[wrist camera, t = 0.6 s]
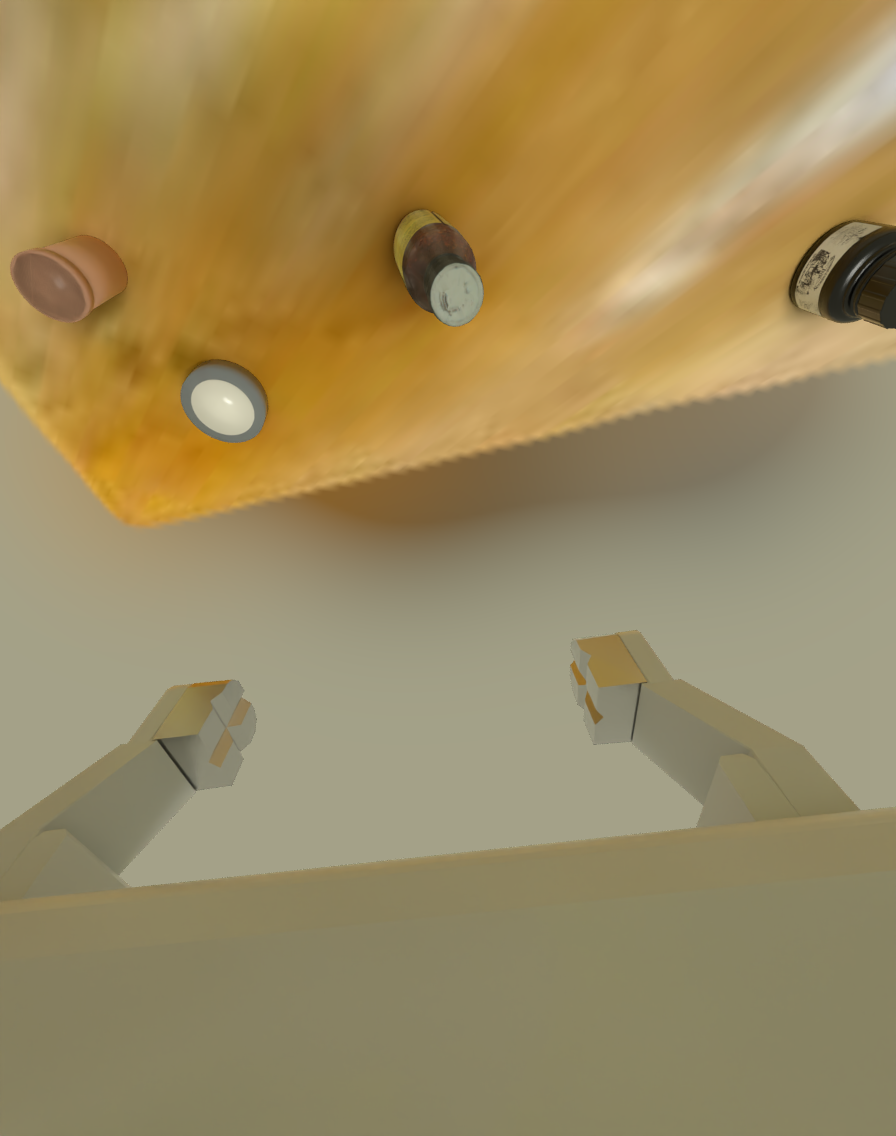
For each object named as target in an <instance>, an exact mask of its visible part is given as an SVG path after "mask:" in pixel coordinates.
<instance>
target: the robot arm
mask: <svg viewBox="0 0 896 1136" xmlns="http://www.w3.org/2000/svg"><path fill="white" fill-rule="evenodd" d="M571 653H572V655H573V658H574V662H573V663H572V664H571V665H570V677H571V684H572V689H573V693H574V696H575V699H576V702H577V704H578V705H579V706H580V707H582V708H583V709H584V722H585V725H586V727H587V730H588V732H589V735H590V737H591V739H592V742H593V744H594V745H597V744H608V743H621V742H632V744H633V745H634V746H635V747H636V748H638V749H639V750H640V751H641V752H642V753H643V754H645V755H646V756H647V757H648V758H649V759H650V760H651V761H653V762H654V763H655V764H656V765H657V766H658V767H659V768H661V769H662V770H663V771H664V772H665V773H666V774H668V775H669V776H670V777H671V778H672V779H673V780H674V781H676V782H677V783H678V784H679V785H680V786H682V787H683V788H684V789H685V790H686V791H687V792H688V793H690V794H691V795H692V796H693V797H694V798H695V799H696V800H698V801H699V802H700V803H701V804H702V805H703V809H702V812H701V815H700V818H699V821H698V823H697V826H696V828H689V829H679V830H670V831H661V832H652V833H642V834H632V835H623V836H614V837H604V838H595V839H585V840H576V841H566V842H557V843H547V844H538V845H529V846H519V847H509V848H500V849H490V850H481V851H472V852H462V853H453V854H443V855H434V856H424V857H415V858H405V859H396V860H387V861H377V862H368V863H359V864H349V865H340V866H331V867H321V868H312V869H303V870H294V871H284V872H275V873H265V874H256V875H246V876H237V877H227V878H218V879H209V880H199V881H190V882H180V883H170V884H161V885H151V886H142V887H131V886H129V885H128V884H127V883H126V882H125V881H124V880H123V879H121V878H120V877H119V876H118V875H119V874H120V873H121V872H122V871H123V870H124V869H125V868H126V867H127V866H128V865H129V864H130V863H131V861H132V860H133V859H134V858H135V857H136V856H137V855H138V854H139V853H140V852H141V851H142V850H143V849H144V848H145V847H146V845H148V843H149V842H150V841H151V840H152V839H153V838H154V837H155V836H156V835H157V834H158V832H160V831H161V829H163V827H164V826H165V825H166V824H167V823H168V822H169V821H170V820H171V819H172V817H174V816H175V815H176V814H177V813H178V811H179V810H180V809H181V808H182V807H183V806H184V805H185V804H186V803H187V802H188V800H190V798H192V797H193V795H194V794H195V793H196V791H197V790H204V789H210V788H218V787H225V786H232V785H233V782H234V780H235V778H236V775H237V773H238V771H239V768H240V766H241V764H242V761H243V756H242V753H241V751H242V750H243V749H244V748H245V747H246V746H247V745H248V744H249V743H250V742H251V741H252V738H253V736H254V733H255V729H256V720H257V719H256V714H255V710H254V708H253V706H252V704H251V703H250V702H248V701H247V700H245V699H243V698H242V695H243V693H244V689H243V687H242V686H241V684H240V682H239V681H236V680H225V681H214V682H204V683H194V684H188V685H177V686H173V687H171V688H169V689H167V691H166V692H165V693H164V695H163V696H162V697H161V699H160V700H159V701H158V703H157V704H156V706H155V707H154V708H153V710H152V711H151V712H150V713H149V715H148V716H147V718H146V719H145V720H144V722H143V723H142V725H141V726H140V727H139V729H138V730H137V731H136V733H135V734H134V735H133V737H132V738H131V739H130V741H129V742H128V743H127V744H122V745H120V746H118V747H116V748H115V749H114V750H112V751H111V752H109V753H108V754H107V755H105V756H104V757H102V758H101V759H100V760H98V761H97V762H95V763H94V764H92V765H91V766H90V767H88V768H87V769H85V770H84V771H83V772H81V773H80V774H78V775H77V776H75V777H74V778H73V779H71V780H70V781H68V782H67V783H66V784H64V785H63V786H62V787H60V788H58V789H57V790H56V791H54V792H53V793H51V794H50V795H49V796H47V797H46V798H44V799H43V800H41V801H40V802H39V803H37V804H36V805H34V806H33V807H32V808H30V809H29V810H27V811H26V812H24V813H23V814H22V815H20V816H19V817H17V818H16V819H15V820H13V821H12V822H10V823H9V824H7V825H6V826H5V827H3V828H2V829H1V830H0V1136H896V807H888V808H878V809H869V810H860V809H859V808H858V807H857V806H856V805H855V804H854V802H853V801H852V800H851V799H850V798H849V797H848V796H847V795H846V794H845V792H844V791H843V790H842V789H841V788H840V787H839V786H838V784H836V782H835V781H834V780H833V779H832V778H831V777H830V776H829V774H828V773H827V772H826V771H825V770H824V769H823V768H822V766H821V765H820V764H819V763H818V762H817V761H816V760H815V759H814V758H813V756H812V755H811V754H810V753H809V752H808V751H807V750H806V749H805V747H804V746H803V745H801V744H799V743H797V742H795V741H794V740H792V739H790V738H788V737H786V736H784V735H782V734H781V733H779V732H777V731H775V730H773V729H771V728H769V727H768V726H766V725H764V724H762V723H760V722H758V721H757V720H755V719H753V718H751V717H749V716H748V715H746V714H744V713H742V712H740V711H738V710H736V709H734V708H733V707H731V706H729V705H727V704H725V703H724V702H722V701H720V700H718V699H716V698H714V697H712V696H711V695H709V694H707V693H705V692H703V691H701V690H700V689H698V688H696V687H694V686H692V685H690V684H688V683H687V682H685V681H683V680H681V679H678V680H674V679H673V678H672V676H671V675H670V674H669V672H668V671H667V669H666V668H665V667H664V665H663V664H662V662H661V661H660V659H659V658H658V657H657V655H656V654H655V652H654V651H653V649H652V648H651V647H650V645H649V644H648V642H647V641H646V640H645V638H644V637H643V635H642V634H641V632H639V631H637V630H633V631H626V632H618V633H615V634H605V635H598V636H589V637H582V638H574V639H572V642H571Z"/></svg>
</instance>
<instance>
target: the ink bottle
mask: <svg viewBox="0 0 896 1136" xmlns="http://www.w3.org/2000/svg"><path fill="white" fill-rule="evenodd" d="M791 298H792V301H793V303H794V304H795V305H796V306H797V307H799V308H800V309H803V310H805V311H808V312H810V313H813V314H816V315H818V316H821V317H823V318H826V319H828V320H831V321H834V322H837V323H851V322H855V321H858V320H861V319H864V321H867V322H870V323H872V324H875V325H878V326H881V327H883V328H886V329H888V328H895V329H896V226H892V225H886V224H880V223H874V222H868V221H861V220H857V221H850V222H847V223H844V224H841V225H839V226H837V227H835V228H834V229H832V230H831V231H829V232H828V233H826V234H825V235H824V236H823V237H822V238H821V239H820V240H819V241H818V242H817V243H816V244H815V245H814V246H813V247H812V248H811V249H810V251H809V252H808V253H807V255H806V256H805V258H804V259H803V261H802V262H801V264H800V266H799V267H798V269H797V271H796V274H795V276H794V278H793V282H792V285H791Z"/></svg>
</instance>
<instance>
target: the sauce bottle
mask: <svg viewBox="0 0 896 1136" xmlns="http://www.w3.org/2000/svg"><path fill="white" fill-rule="evenodd" d="M394 256H395V260H396V263H397V266H398V269H399V271H400V273H401V276H402V279H403V281H404V283H405V286H406V288H407V290H408V292H409V294H410V295H411V297H412V299H413V300H414V301H415V302H416V303H417V304H418V305H419V306H420V307H421V308H423V309H424V310H426V311H428V312H431V313H434V315H435V316H436V317H437V318H438V319H439V320H440V321H441V322H443V323H444V324H446V325H448V326H453V327H454V326H461V325H464V324H466V323H469V322H470V321H471V320H472V319H473V318H474V317H475V316H476V314H477V313H478V312H479V309H480V307H481V305H482V302H483V295H484V292H483V284H482V280H481V278H480V276H479V274H478V273H477V271H476V262H475V257H474V254H473V252H472V249H471V248H470V246H469V244H468V243H467V241H466V240H465V239H464V238H463V236H462V235H461V234H460V233H459V232H458V231H457V230H456V229H455V228H454V227H453V226H452V225H450V224H449V223H448V222H447V221H446V220H444V219H443V218H442V217H441V216H439V215H438V214H437V213H435V212H433V211H432V212H430V211H429V210H417V211H414V212H412V213H410V214H408V215H407V216H405V217H404V218H403V219H402V220H401V222H400V224H399V226H398V229H397V231H396V234H395V238H394Z"/></svg>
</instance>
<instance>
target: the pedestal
mask: <svg viewBox="0 0 896 1136" xmlns="http://www.w3.org/2000/svg"><path fill="white" fill-rule="evenodd" d="M181 402H182V406H183V409H184V411H185V413H186V415H187V416H188V418H189V419H190V420H191V421H192V423H193V424H194V425H195V426H196V427H197V428H199V429H200V430H201V431H202V432H204V433H205V434H207V435H209V436H211V437H213V438H215V439H218V440H221V441H225V442H231V443H238V442H244V441H247V440H250V439H252V438H253V437H255V436H256V435H257V434H258V433H259V432H260V430H261V429H262V426H263V424H264V421H265V418H266V415H267V412H268V399H267V396H266V393H265V391H264V389H263V387H262V385H261V384H260V382H259V381H258V380H257V379H256V378H255V377H254V376H253V375H252V374H251V373H250V372H249V371H248V370H246V369H245V368H243V367H241V366H239V365H238V364H235V363H233V362H229V361H225V360H209V361H205V362H203V363H201V364H199V365H197V366H196V367H195V368H194V370H193V371H192V372H191V373H190V375H189V376H188V377H187V379H186V380H185V382H184V383H183V385H182V389H181Z"/></svg>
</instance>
